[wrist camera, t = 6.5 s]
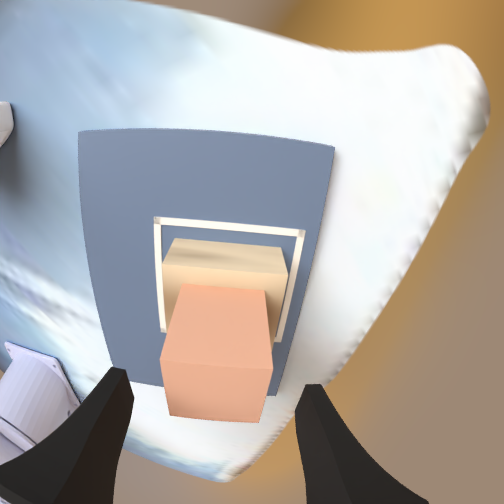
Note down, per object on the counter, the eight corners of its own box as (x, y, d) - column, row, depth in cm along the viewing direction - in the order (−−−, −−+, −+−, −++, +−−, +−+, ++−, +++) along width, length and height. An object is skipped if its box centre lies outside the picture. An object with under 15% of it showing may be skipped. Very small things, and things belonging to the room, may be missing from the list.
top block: (254, 347, 16) (258, 422, 11) (184, 341, 16) (169, 415, 11) (264, 290, 14) (273, 368, 10) (182, 283, 14) (159, 359, 9)
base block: (266, 327, 19) (269, 360, 16) (177, 320, 19) (168, 352, 16) (280, 247, 16) (288, 275, 14) (174, 238, 16) (162, 263, 13)
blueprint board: (275, 388, 23) (275, 396, 23) (119, 372, 22) (117, 379, 22) (330, 145, 15) (335, 147, 14) (85, 130, 14) (77, 132, 13)
